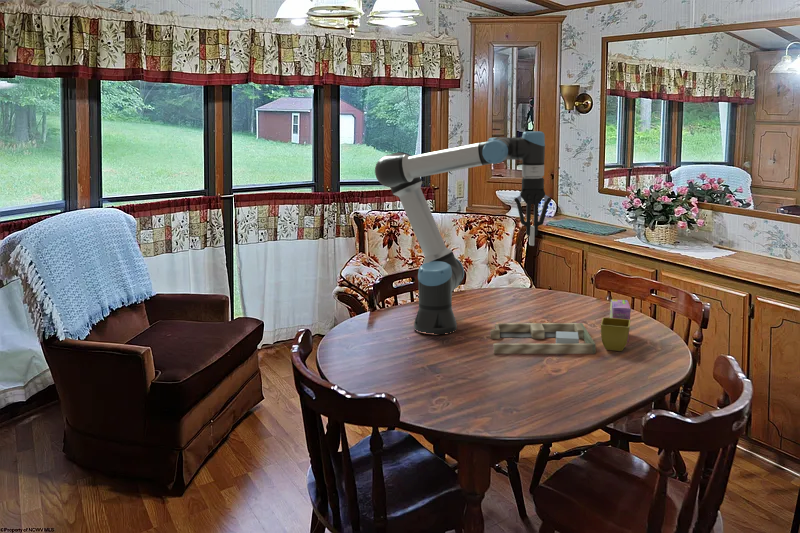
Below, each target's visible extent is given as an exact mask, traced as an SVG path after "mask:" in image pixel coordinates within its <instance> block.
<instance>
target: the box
mask: <svg viewBox="0 0 800 533" xmlns="http://www.w3.org/2000/svg"><path fill="white" fill-rule="evenodd" d="M609 308H610V309H609V318H617V319H628V320H630V321H631V306H630V303H629V300H627V299H610V307H609ZM629 337H630V333H629V334H628V340H627V343H629V339H630V338H629Z"/></svg>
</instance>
